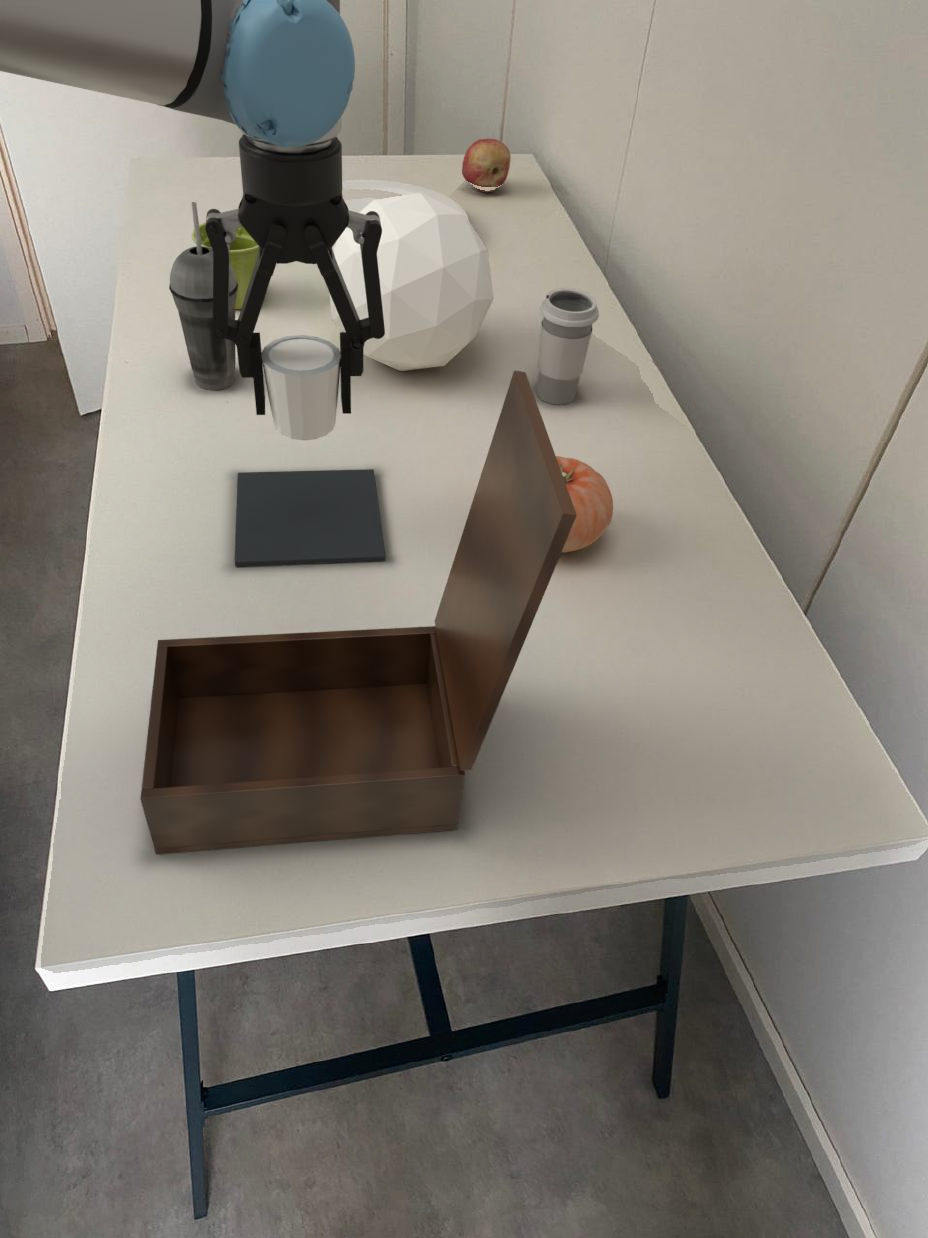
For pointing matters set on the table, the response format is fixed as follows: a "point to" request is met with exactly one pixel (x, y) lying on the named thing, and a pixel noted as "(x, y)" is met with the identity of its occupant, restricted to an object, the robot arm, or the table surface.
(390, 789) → the chest
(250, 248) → the plant pot
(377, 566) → the table surface
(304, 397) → the white grey-rimmed cylinder
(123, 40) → the robot arm
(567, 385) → the cup
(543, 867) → the table surface
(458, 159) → the table surface
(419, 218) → the ball
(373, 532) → the drying mat
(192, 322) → the beverage cup
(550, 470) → the chest lid
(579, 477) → the tomato
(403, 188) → the plate
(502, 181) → the fruit
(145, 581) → the table surface
